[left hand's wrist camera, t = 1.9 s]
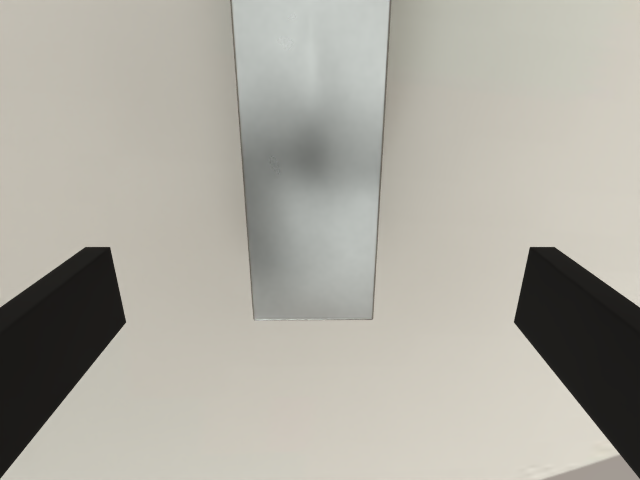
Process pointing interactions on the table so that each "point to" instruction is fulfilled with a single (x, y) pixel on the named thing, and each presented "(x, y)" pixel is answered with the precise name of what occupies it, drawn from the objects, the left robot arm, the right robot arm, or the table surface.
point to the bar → (311, 152)
